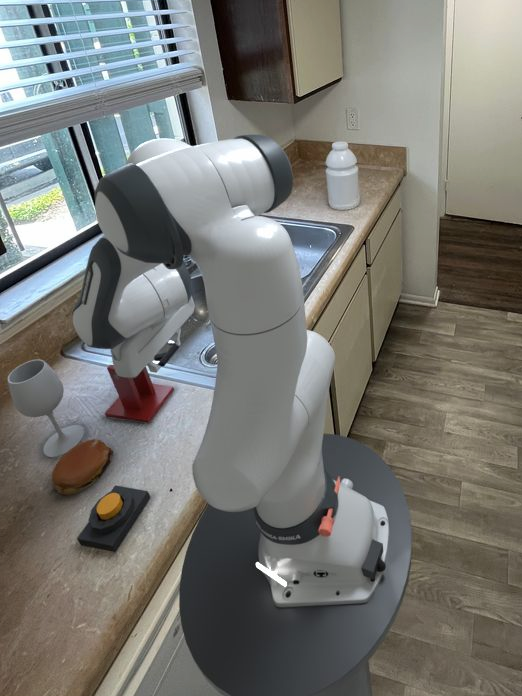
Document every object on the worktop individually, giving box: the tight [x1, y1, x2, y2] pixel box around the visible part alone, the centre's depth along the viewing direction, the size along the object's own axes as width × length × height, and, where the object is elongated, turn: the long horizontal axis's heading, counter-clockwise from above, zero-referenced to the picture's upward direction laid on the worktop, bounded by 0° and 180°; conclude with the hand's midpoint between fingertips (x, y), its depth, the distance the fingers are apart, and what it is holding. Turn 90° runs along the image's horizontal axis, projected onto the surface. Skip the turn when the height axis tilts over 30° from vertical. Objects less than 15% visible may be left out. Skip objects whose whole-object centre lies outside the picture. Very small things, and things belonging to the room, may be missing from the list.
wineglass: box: [7, 359, 85, 458], centre depth 90 cm, size 8×8×21 cm
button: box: [97, 493, 123, 520], centre depth 78 cm, size 4×4×2 cm
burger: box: [51, 438, 114, 496], centre depth 87 cm, size 10×9×5 cm
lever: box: [154, 344, 180, 368], centre depth 95 cm, size 15×5×2 cm, turn 80°
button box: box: [76, 484, 151, 553], centre depth 79 cm, size 7×9×4 cm
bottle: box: [324, 140, 361, 211], centre depth 187 cm, size 14×14×28 cm
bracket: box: [104, 364, 175, 424], centre depth 100 cm, size 11×9×14 cm
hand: (166, 357), depth 94 cm, fingers closed on lever, 5 cm apart
